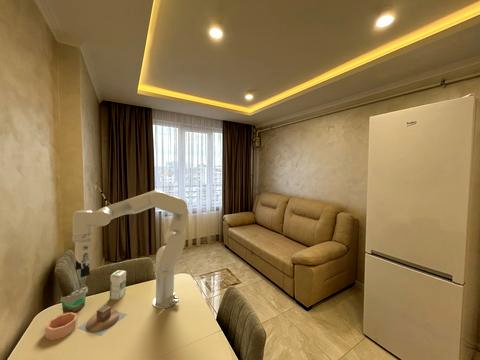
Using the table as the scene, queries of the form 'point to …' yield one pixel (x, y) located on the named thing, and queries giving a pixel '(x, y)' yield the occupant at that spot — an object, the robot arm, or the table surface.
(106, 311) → the lid
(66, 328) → the bowl
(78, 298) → the food container
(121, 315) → the mat
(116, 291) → the syrup box
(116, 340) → the table surface
